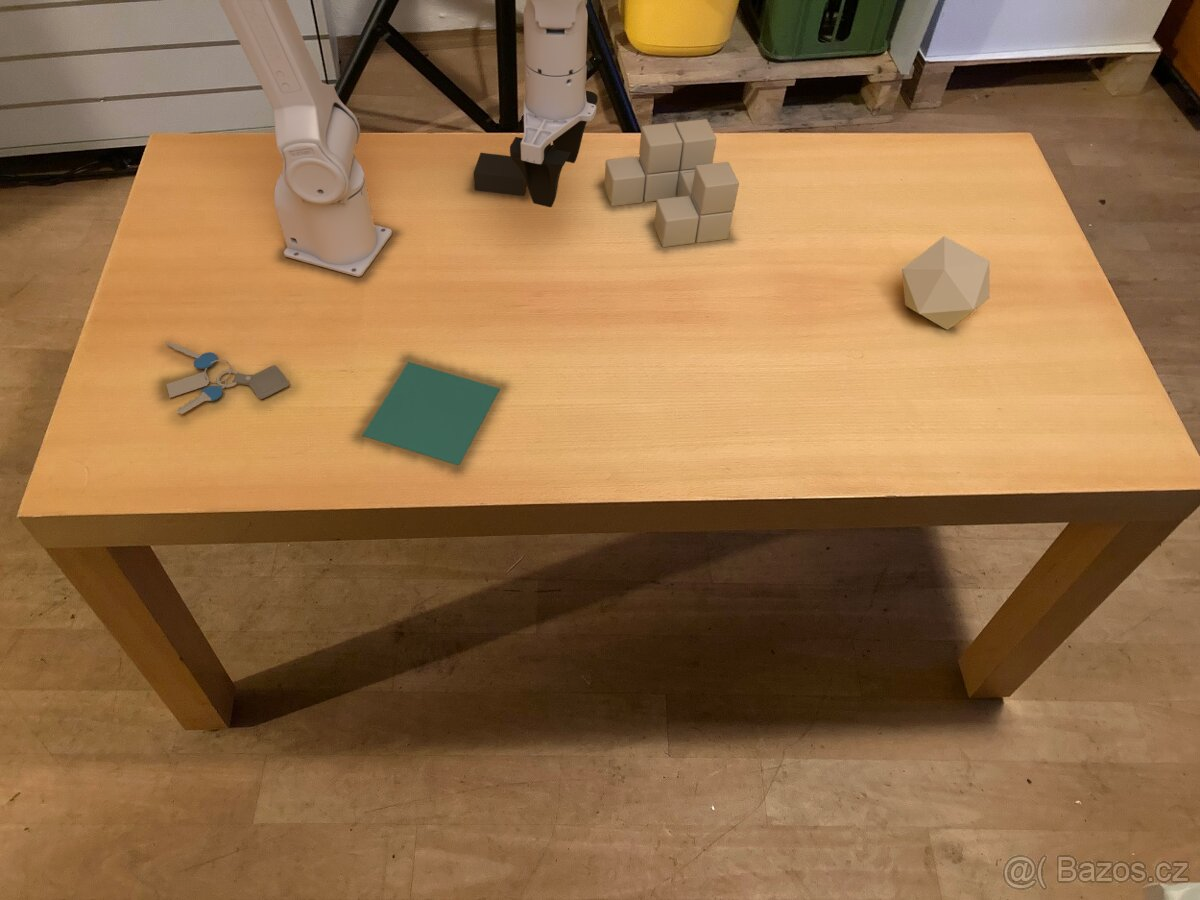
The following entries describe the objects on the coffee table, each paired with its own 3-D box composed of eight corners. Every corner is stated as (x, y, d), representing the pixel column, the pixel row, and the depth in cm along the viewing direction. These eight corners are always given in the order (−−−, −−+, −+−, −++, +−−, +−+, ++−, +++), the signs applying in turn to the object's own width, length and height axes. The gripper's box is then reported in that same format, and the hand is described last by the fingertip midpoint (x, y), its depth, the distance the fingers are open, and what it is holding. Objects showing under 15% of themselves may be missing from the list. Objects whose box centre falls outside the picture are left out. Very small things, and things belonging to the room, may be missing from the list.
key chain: (298, 373, 91) (296, 367, 90) (260, 436, 86) (258, 431, 85) (170, 344, 92) (167, 338, 92) (125, 405, 87) (122, 399, 87)
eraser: (474, 190, 109) (473, 172, 107) (481, 169, 111) (480, 152, 109) (524, 196, 108) (523, 178, 106) (530, 175, 111) (529, 158, 109)
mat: (362, 435, 87) (362, 435, 87) (408, 362, 92) (408, 361, 92) (459, 465, 85) (459, 465, 85) (500, 388, 91) (500, 388, 91)
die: (989, 318, 100) (987, 225, 97) (991, 336, 93) (989, 237, 90) (907, 323, 104) (903, 234, 101) (903, 342, 96) (899, 246, 93)
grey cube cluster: (603, 186, 110) (606, 128, 104) (698, 175, 112) (707, 118, 106) (628, 252, 103) (633, 195, 97) (728, 239, 105) (739, 182, 99)
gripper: (572, 111, 80) (570, 232, 91) (618, 28, 88) (610, 149, 99) (496, 95, 81) (503, 217, 92) (548, 15, 89) (549, 135, 100)
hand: (554, 181), depth 95 cm, fingers open, 7 cm apart
